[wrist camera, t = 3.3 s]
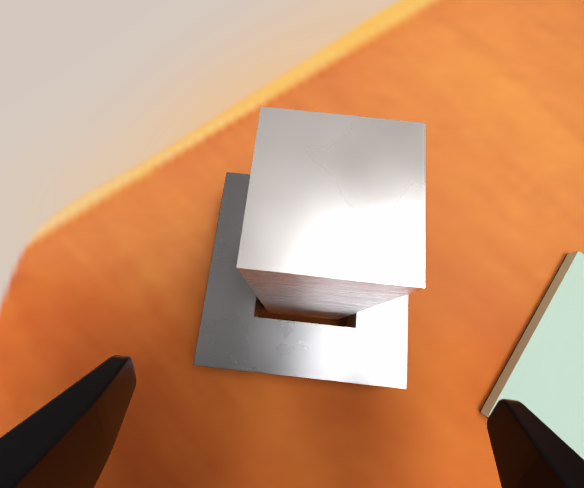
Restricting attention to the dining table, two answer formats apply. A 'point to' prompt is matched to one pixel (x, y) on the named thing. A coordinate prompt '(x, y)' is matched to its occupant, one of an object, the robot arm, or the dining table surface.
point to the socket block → (291, 322)
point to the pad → (552, 359)
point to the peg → (334, 212)
